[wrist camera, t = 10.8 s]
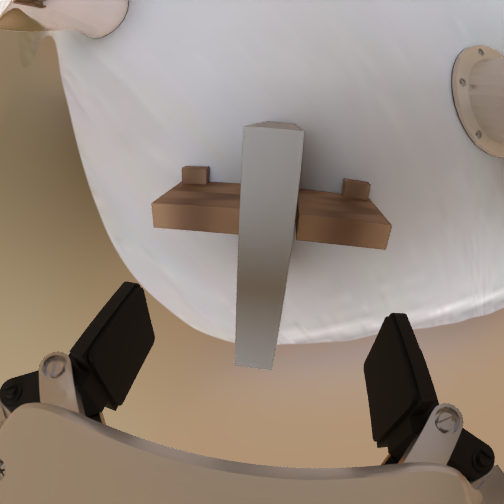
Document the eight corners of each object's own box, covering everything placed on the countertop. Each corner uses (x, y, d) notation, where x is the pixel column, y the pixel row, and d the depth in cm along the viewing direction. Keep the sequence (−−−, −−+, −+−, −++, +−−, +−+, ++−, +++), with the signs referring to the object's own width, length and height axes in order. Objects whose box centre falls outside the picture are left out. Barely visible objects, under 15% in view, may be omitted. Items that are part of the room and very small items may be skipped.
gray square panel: (294, 123, 22) (304, 131, 10) (280, 262, 29) (271, 369, 17) (267, 121, 22) (243, 126, 10) (257, 259, 29) (234, 365, 17)
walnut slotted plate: (370, 182, 24) (396, 206, 18) (361, 230, 26) (380, 266, 20) (182, 166, 25) (150, 184, 19) (184, 214, 28) (155, 244, 22)
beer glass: (140, -14, 16) (48, -61, 3) (121, 39, 19) (10, 18, 6) (92, -6, 16) (0, -30, 3) (76, 44, 19) (-28, 39, 6)
